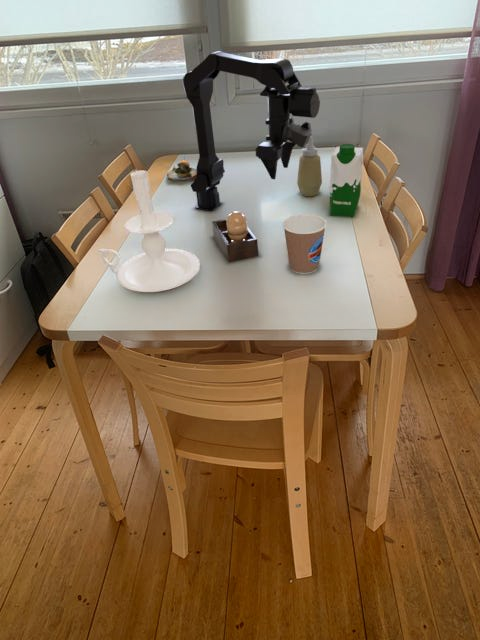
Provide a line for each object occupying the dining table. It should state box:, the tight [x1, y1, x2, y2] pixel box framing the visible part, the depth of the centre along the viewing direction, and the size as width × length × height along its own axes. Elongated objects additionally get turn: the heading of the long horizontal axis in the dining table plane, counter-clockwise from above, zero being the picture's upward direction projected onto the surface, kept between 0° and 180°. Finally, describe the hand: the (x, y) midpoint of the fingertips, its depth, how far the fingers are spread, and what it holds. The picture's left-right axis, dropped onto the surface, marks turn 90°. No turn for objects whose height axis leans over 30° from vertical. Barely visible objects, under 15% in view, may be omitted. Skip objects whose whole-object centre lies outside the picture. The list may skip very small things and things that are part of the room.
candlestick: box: [97, 169, 201, 293], centre depth 110 cm, size 21×25×28 cm
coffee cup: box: [282, 213, 328, 275], centre depth 114 cm, size 10×10×12 cm
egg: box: [226, 210, 248, 243], centre depth 122 cm, size 5×5×9 cm
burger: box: [166, 156, 197, 181], centre depth 174 cm, size 12×12×8 cm
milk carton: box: [329, 143, 364, 218], centre depth 137 cm, size 9×9×20 cm
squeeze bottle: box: [296, 136, 323, 197], centre depth 150 cm, size 8×8×18 cm
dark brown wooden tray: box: [211, 218, 259, 263], centre depth 128 cm, size 8×16×5 cm, turn 17°
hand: (279, 173), depth 133 cm, fingers open, 9 cm apart
